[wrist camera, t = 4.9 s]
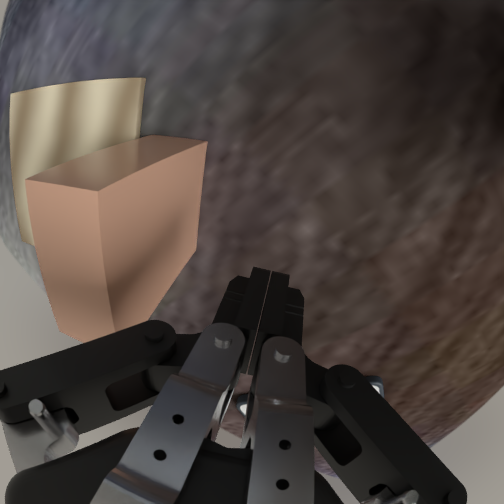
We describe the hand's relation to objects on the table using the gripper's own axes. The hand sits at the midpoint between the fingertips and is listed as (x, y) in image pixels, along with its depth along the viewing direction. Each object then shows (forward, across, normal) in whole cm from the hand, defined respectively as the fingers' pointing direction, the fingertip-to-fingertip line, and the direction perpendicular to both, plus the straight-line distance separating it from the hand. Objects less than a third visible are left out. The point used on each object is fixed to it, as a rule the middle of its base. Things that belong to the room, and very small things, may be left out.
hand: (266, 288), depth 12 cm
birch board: (+8, +19, 0) cm, 20 cm away
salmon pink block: (+8, +8, 0) cm, 11 cm away
